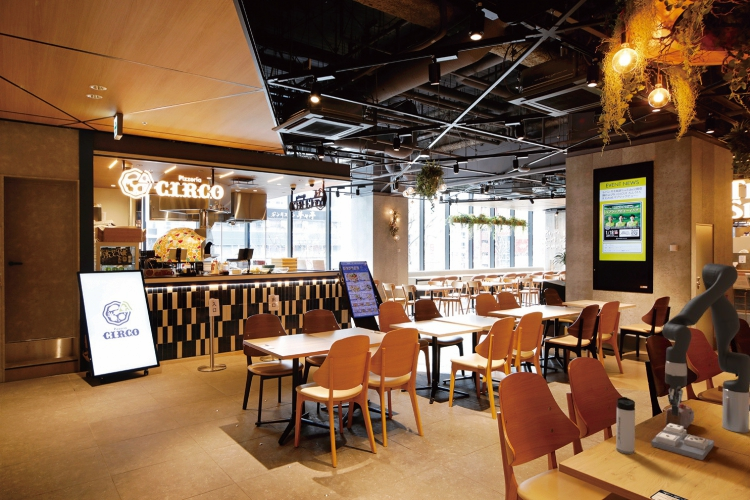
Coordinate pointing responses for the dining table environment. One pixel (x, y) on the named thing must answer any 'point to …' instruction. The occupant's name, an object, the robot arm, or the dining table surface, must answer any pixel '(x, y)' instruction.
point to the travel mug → (625, 426)
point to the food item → (680, 416)
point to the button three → (696, 439)
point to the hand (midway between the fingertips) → (675, 414)
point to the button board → (683, 444)
